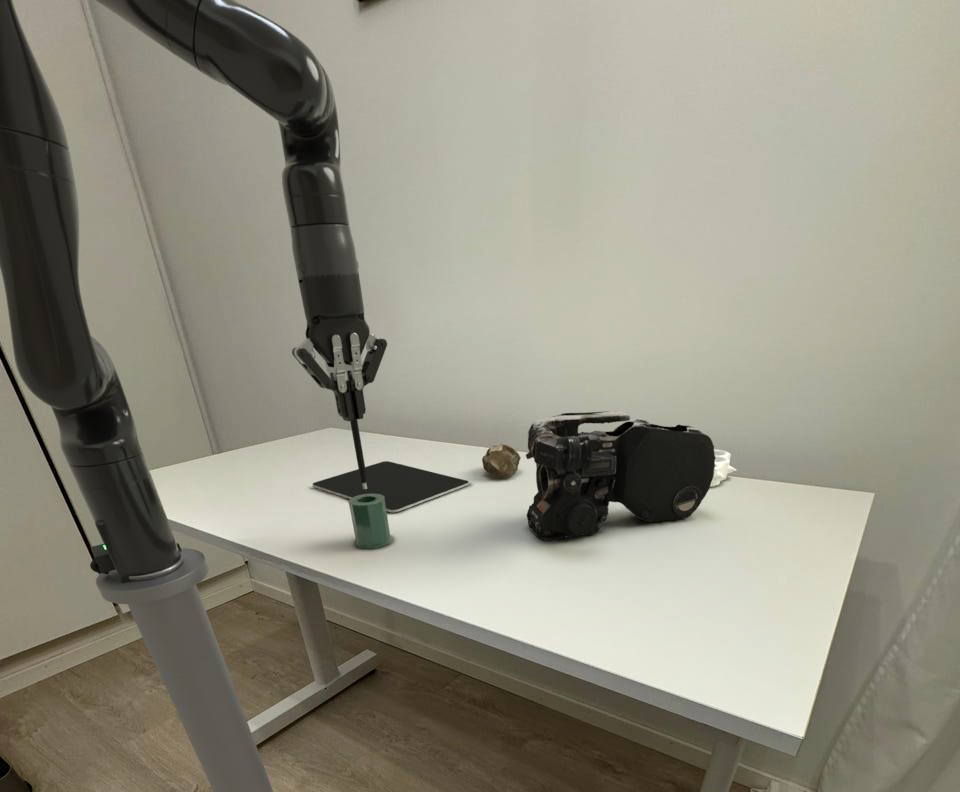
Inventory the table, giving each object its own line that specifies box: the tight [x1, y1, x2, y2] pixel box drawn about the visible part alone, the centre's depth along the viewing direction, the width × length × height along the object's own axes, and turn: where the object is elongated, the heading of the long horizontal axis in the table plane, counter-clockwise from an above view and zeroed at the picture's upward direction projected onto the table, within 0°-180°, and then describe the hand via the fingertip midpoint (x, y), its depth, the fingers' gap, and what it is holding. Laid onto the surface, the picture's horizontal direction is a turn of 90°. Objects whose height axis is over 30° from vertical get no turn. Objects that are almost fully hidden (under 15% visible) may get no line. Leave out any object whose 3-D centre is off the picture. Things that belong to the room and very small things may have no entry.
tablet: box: [312, 460, 469, 513], centre depth 112 cm, size 27×1×20 cm
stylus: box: [345, 379, 367, 489], centre depth 79 cm, size 1×1×15 cm
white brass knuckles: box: [710, 449, 737, 488], centre depth 106 cm, size 3×18×15 cm
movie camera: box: [525, 410, 716, 541], centre depth 84 cm, size 31×18×18 cm, turn 100°
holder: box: [348, 494, 392, 550], centre depth 86 cm, size 5×6×7 cm
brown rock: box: [481, 443, 521, 478], centre depth 114 cm, size 8×7×10 cm
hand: (353, 419), depth 78 cm, fingers closed on stylus, 1 cm apart
